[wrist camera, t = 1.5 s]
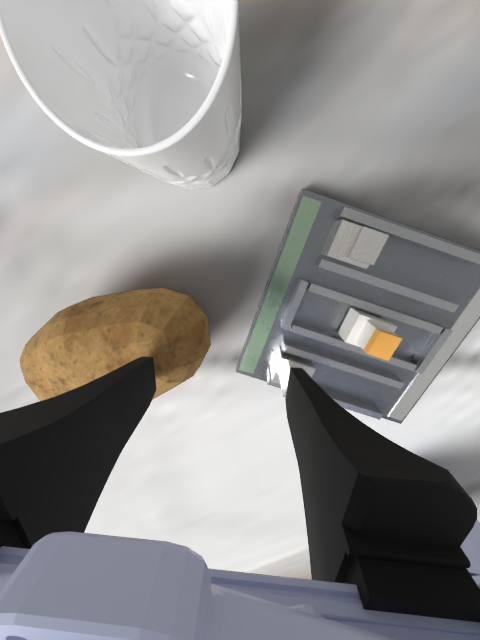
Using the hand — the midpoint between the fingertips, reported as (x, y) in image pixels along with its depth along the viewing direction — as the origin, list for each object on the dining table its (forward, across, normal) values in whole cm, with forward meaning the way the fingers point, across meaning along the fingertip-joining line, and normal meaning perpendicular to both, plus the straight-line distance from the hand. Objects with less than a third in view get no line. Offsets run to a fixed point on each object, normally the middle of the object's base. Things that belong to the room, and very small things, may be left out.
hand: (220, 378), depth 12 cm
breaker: (+8, -11, 0) cm, 13 cm away
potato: (+10, +8, +2) cm, 13 cm away
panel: (+9, -11, 0) cm, 14 cm away
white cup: (+10, +4, -13) cm, 17 cm away
